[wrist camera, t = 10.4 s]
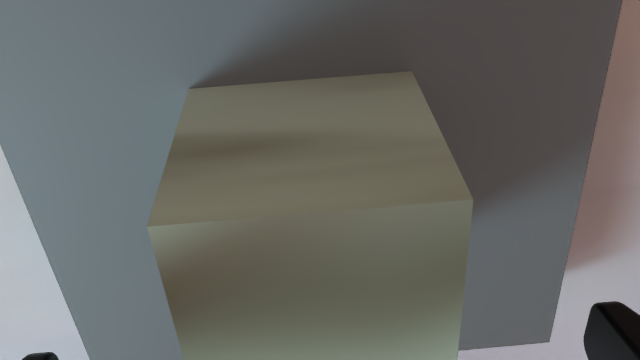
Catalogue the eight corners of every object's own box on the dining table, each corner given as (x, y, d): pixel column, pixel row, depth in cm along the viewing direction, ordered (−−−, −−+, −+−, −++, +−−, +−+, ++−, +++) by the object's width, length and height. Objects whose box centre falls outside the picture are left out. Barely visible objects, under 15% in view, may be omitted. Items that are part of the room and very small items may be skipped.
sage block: (407, 244, 16) (452, 404, 12) (221, 259, 16) (201, 426, 12) (412, 71, 13) (473, 199, 9) (188, 89, 13) (146, 227, 9)
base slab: (521, 286, 21) (549, 341, 19) (118, 322, 20) (100, 383, 18) (599, -186, 13) (661, -182, 11) (-47, -134, 13) (-110, -120, 11)
